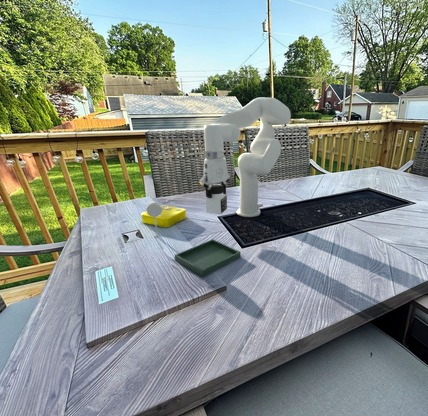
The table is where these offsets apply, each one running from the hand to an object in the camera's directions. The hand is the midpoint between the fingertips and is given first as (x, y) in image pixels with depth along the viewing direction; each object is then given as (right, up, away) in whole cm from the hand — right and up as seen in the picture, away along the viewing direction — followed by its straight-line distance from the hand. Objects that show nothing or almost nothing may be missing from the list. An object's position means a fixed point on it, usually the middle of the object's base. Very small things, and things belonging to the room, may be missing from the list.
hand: (216, 195), depth 115 cm
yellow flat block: (-27, -11, +10) cm, 31 cm away
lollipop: (-23, -18, -7) cm, 30 cm away
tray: (+2, -24, -21) cm, 32 cm away
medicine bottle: (0, -7, +3) cm, 8 cm away
